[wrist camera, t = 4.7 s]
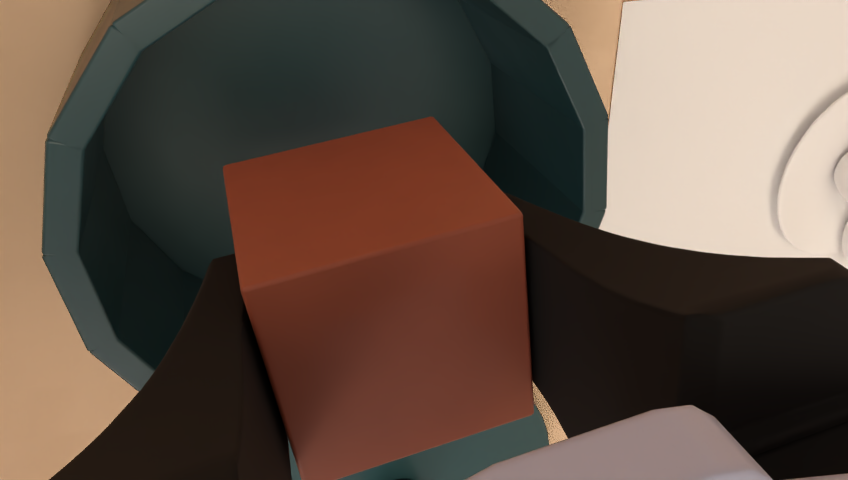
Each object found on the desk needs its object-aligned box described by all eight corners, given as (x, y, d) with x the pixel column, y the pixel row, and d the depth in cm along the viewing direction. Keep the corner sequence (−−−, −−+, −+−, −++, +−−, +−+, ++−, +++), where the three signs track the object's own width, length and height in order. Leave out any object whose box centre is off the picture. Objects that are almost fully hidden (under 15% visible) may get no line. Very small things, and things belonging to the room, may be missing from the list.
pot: (163, 354, 24) (161, 502, 19) (-6, -53, 17) (-87, -3, 12) (517, 255, 26) (604, 360, 21) (494, -135, 20) (614, -124, 14)
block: (274, 336, 15) (305, 492, 12) (221, 164, 13) (239, 289, 10) (454, 285, 16) (536, 415, 13) (433, 114, 14) (524, 212, 10)
